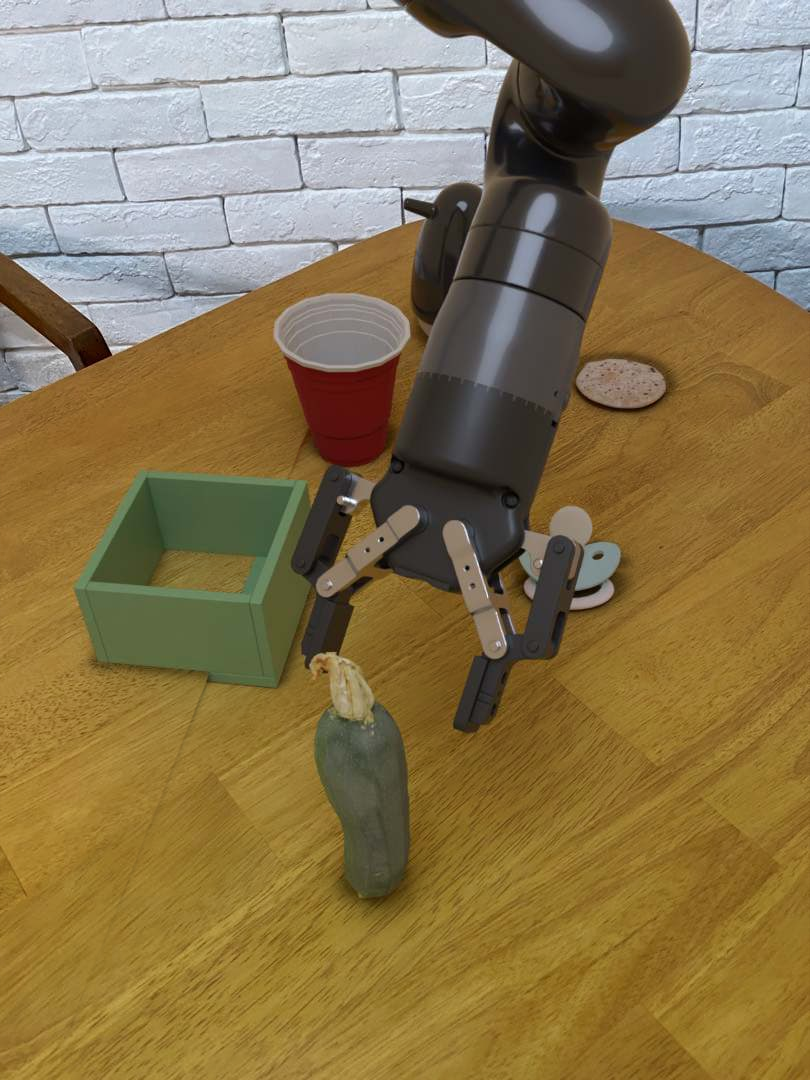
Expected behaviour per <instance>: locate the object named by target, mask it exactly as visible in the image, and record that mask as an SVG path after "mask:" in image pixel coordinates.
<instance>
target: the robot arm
mask: <svg viewBox="0 0 810 1080" xmlns="http://www.w3.org/2000/svg"><path fill="white" fill-rule="evenodd" d="M391 1H392V2H393V3H395V4H396V6H398V7H399V8H400V9H404V12H405V13H406V14H407V15H408V16H409V17H411V18H412V19H413V20H414V21H415V22H417V23H418V24H419V25H420V26H423V28H425V29H427V30H428V31H429V32H431V33H433V34H434V35H436V36H438V37H440V38H443V39H448V40H449V39H450V40H455V39H461V38H466V37H478V38H481V39H484V40H485V41H487V42H489V43H490V44H491V45H493V46H495V47H496V48H497V49H499V50H500V51H502V52H504V53H505V54H507V55H508V56H510V57H511V58H512V59H511V60H510V63H509V65H508V68H507V70H506V73H505V74H504V78H503V81H502V83H501V85H500V88H499V92H498V95H497V99H496V102H495V105H494V110H493V115H492V119H491V125H490V131H489V136H488V143H487V149H486V155H485V161H484V167H483V176H482V177H483V178H482V189H483V190H482V196H481V201H480V204H479V206H478V209H477V211H476V213H475V216H474V218H473V221H472V223H471V226H470V229H469V232H468V235H467V238H466V241H465V244H464V247H463V250H462V253H461V256H460V259H459V262H458V266H457V269H456V272H455V275H454V278H453V283H452V284H451V286H450V289H449V292H448V294H447V296H446V299H445V301H444V303H443V305H442V307H441V309H440V311H439V313H438V315H437V317H436V319H435V322H434V324H433V327H432V329H431V332H430V335H429V336H428V338H427V342H426V345H425V348H424V351H423V354H422V357H421V360H420V363H419V366H418V369H417V372H416V375H415V378H414V382H413V384H412V388H411V391H410V394H409V396H408V400H407V403H406V406H405V409H404V412H403V415H402V418H401V421H400V424H399V428H398V431H397V433H396V436H395V440H394V443H393V446H392V449H391V455H390V456H391V457H390V460H389V466H388V468H387V470H386V472H385V474H384V475H383V476H381V478H380V479H379V480H378V481H377V482H374V481H372V480H370V479H367V478H364V476H363V475H362V474H361V473H358V472H356V471H354V470H352V469H348V468H347V467H344V466H339V465H333V464H331V465H329V466H327V468H326V469H325V471H324V473H323V476H322V479H321V481H320V485H319V487H318V490H317V492H316V493H315V494H316V495H315V496H314V499H313V502H312V504H311V510H310V512H309V515H308V517H307V520H306V523H305V525H304V528H303V530H302V533H301V536H300V538H299V541H298V543H297V546H296V549H295V551H294V554H293V556H292V559H291V568H292V570H293V571H294V572H295V573H297V574H300V575H302V576H303V577H304V578H305V579H306V580H307V581H309V582H310V583H311V584H312V585H311V586H312V587H313V588H314V592H315V600H314V603H313V605H312V609H311V612H310V615H309V618H308V621H307V626H306V627H305V631H304V634H303V637H302V640H301V642H300V651H301V652H300V654H301V656H303V657H305V659H304V664H303V665H304V669H306V670H309V671H311V669H310V666H309V664H310V663H311V660H312V659H313V658H314V656H316V655H318V654H320V653H323V654H326V653H327V652H337V654H336V655H337V656H339V657H340V652H341V649H342V646H343V643H344V640H345V637H346V634H347V631H348V628H349V625H350V622H351V619H352V615H353V612H354V610H355V605H352V604H350V601H351V600H352V599H354V598H355V597H356V596H358V595H359V594H361V593H362V592H363V591H365V590H366V589H368V588H369V587H370V586H372V584H374V583H376V582H377V581H379V580H383V579H385V578H386V577H388V576H389V575H392V574H394V575H397V576H401V577H403V578H406V579H411V580H414V581H415V580H416V581H419V582H426V583H427V584H429V585H430V586H431V587H433V588H434V589H438V590H441V591H444V592H447V593H450V594H455V595H460V596H462V598H463V600H464V604H465V607H466V609H467V612H468V613H469V614H470V615H471V617H472V619H473V622H474V625H475V628H476V632H477V635H478V639H479V641H480V644H481V645H480V646H481V648H482V652H481V655H477V654H476V655H475V654H474V657H473V659H472V663H471V666H470V669H469V672H468V674H467V678H466V681H465V684H464V688H463V691H462V693H461V696H460V699H459V703H458V705H457V709H456V711H455V715H454V718H453V721H452V729H454V730H457V731H459V732H461V733H464V734H466V735H467V734H474V733H477V732H478V731H479V729H480V728H481V726H487V725H490V724H491V723H492V722H493V720H494V719H495V718H496V716H497V714H498V711H499V708H500V704H501V702H502V698H503V696H504V692H505V689H506V686H507V683H508V680H509V676H510V675H511V671H512V669H513V667H514V666H515V665H516V664H517V663H518V662H521V661H540V660H542V661H551V660H553V659H555V658H556V657H557V656H558V655H559V651H560V649H561V644H562V641H563V637H564V634H565V630H566V626H567V622H568V619H569V618H568V617H569V615H570V611H571V610H570V607H571V603H572V599H573V598H574V595H575V592H576V591H575V588H576V584H577V580H578V576H579V573H580V569H581V565H582V561H583V557H584V549H583V547H582V545H581V544H580V543H578V542H577V541H575V540H573V539H571V538H569V537H566V536H563V535H557V536H554V537H553V536H550V534H546V533H545V534H544V533H541V532H536V531H532V530H531V527H530V526H531V525H530V513H531V509H532V506H533V504H534V503H535V502H534V501H535V498H536V496H537V493H538V489H539V487H540V484H541V481H542V477H543V474H544V470H545V468H546V465H547V462H548V459H549V456H550V453H551V450H552V448H553V444H554V441H555V437H556V434H557V432H558V429H559V426H560V423H561V420H562V416H563V414H564V412H565V411H566V410H567V408H568V405H569V402H570V399H571V395H572V391H571V390H572V385H573V383H574V380H575V376H576V372H577V369H578V364H579V360H580V356H581V355H580V353H581V348H582V343H583V338H584V334H585V330H586V324H587V323H588V321H589V317H590V314H591V311H592V309H593V305H594V302H595V299H596V296H597V293H598V290H599V288H600V284H601V280H602V278H603V275H604V272H605V268H606V265H607V262H608V259H609V255H610V250H611V247H612V239H613V229H614V227H613V226H614V225H613V222H612V216H611V215H610V212H609V211H608V208H607V207H606V205H604V203H602V202H601V200H600V199H601V195H602V190H603V186H604V180H605V176H606V172H607V168H608V167H609V163H610V161H611V158H612V155H613V153H614V151H615V149H616V147H617V146H619V145H621V144H623V143H625V142H626V141H628V140H631V139H633V138H634V137H637V136H639V135H640V134H643V133H644V132H647V131H648V130H650V129H651V128H653V127H655V126H656V125H658V124H660V123H661V122H662V121H664V119H665V118H666V117H668V116H669V115H670V114H671V113H672V112H673V111H674V110H675V109H676V108H677V106H678V104H679V103H680V102H681V100H682V98H683V96H684V95H685V92H686V90H687V88H688V85H689V81H690V78H691V72H692V51H691V45H690V40H689V36H688V33H687V30H686V28H685V26H684V23H683V21H682V18H681V16H680V15H679V13H678V12H677V10H676V8H675V7H674V5H673V4H672V2H671V1H670V0H391ZM368 504H369V506H370V509H371V512H372V516H373V521H374V523H375V527H376V529H375V530H373V531H372V532H370V533H369V534H368V535H367V536H365V537H364V538H363V539H361V540H360V541H359V542H358V543H356V544H355V545H354V546H352V547H351V548H350V549H349V550H347V552H346V553H345V556H344V558H342V559H341V560H340V561H338V562H337V563H336V561H337V558H338V556H339V553H340V551H341V548H342V545H343V543H344V540H345V537H346V535H347V533H348V530H349V528H350V524H351V522H352V519H353V517H354V516H355V517H356V516H358V515H360V514H361V513H362V512H363V511H364V510H365V509H364V508H365V507H366V506H367V505H368ZM526 551H527V552H528V553H529V555H530V558H531V563H530V568H531V571H532V573H533V574H534V575H535V576H537V577H539V578H538V582H537V586H536V590H535V593H534V597H533V600H532V601H531V605H530V608H529V612H528V616H527V620H526V624H525V627H524V632H523V633H519V632H518V631H517V627H516V624H515V621H514V616H513V613H512V602H511V600H510V596H509V593H508V590H507V587H506V583H505V581H504V577H503V573H502V571H503V570H504V569H506V568H507V567H508V566H510V565H511V564H512V563H514V562H515V561H516V560H517V559H519V557H520V556H521V555H523V554H524V553H525V552H526ZM335 563H336V564H335ZM321 669H323V668H321ZM321 674H329V673H328V671H326V670H324V669H323V670H322V673H321Z"/></svg>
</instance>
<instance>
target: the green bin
mask: <svg viewBox="0 0 810 1080" xmlns="http://www.w3.org/2000/svg"><path fill="white" fill-rule="evenodd" d="M311 507H312V504H311V497H310V491H309V484H308V480H303V479H288V478H275V477H257V476H243V475H240V476H239V475H228V474H227V475H225V474H212V473H210V474H209V473H193V472H179V471H178V472H177V471H165V470H164V471H163V470H147V469H139V470H138V472H137V474H136V476H135V477H134V479H133V481H132V482H131V484H130V487H129V488H128V490H127V492H126V494H125V495H124V497H123V499H122V500H121V503H120V504H119V506H118V508H117V509H116V512H115V513H114V515H113V517H112V518H111V520H110V522H109V524H108V525H107V527H106V528H105V529H106V530H105V531H104V533H103V534H102V536H101V538H100V540H99V542H98V544H97V545H96V546H95V549H94V551H93V553H92V554H91V556H90V558H89V560H88V561H87V563H86V565H85V567H84V568H83V570H82V572H81V574H80V576H79V578H78V579H77V581H76V582H75V585H74V586H73V591H74V594H75V597H76V600H77V604H78V606H79V609H80V612H81V614H82V617H83V620H84V623H85V626H86V630H87V634H88V636H89V639H90V640H91V644H92V647H93V650H94V653H95V657H96V659H97V662H99V663H110V664H121V665H129V666H130V665H131V666H142V667H153V668H163V669H173V670H185V671H195V672H196V671H197V672H206V673H208V675H207V678H206V682H210V683H219V684H229V685H230V684H231V685H240V686H250V687H251V686H253V687H260V688H262V687H263V688H271V689H272V688H273V689H278V686H279V684H280V680H281V677H282V674H283V671H284V668H285V666H286V662H287V660H288V657H289V654H290V651H291V647H292V644H293V641H294V638H295V635H296V632H297V629H298V627H299V624H300V621H301V617H302V615H303V611H304V608H305V606H306V603H307V600H308V597H309V594H310V590H311V587H312V586H313V585H312V584H311V583H310V582H309V581H307V580H306V579H305V578H304V577H303V576H302V575H300V574H297V573H295V572H294V571H293V570H292V568H291V559H292V556H293V554H294V551H295V549H296V546H297V543H298V541H299V538H300V536H301V533H302V530H303V528H304V525H305V523H306V520H307V517H308V515H309V512H310V510H311ZM165 550H171V551H183V552H184V551H185V552H198V553H199V552H200V553H211V554H222V555H237V556H250V557H254V560H253V562H252V565H251V568H250V569H249V573H248V575H247V577H246V580H245V582H244V585H243V587H242V590H241V593H238V592H226V591H225V592H224V591H215V590H203V589H189V588H179V587H166V586H155V585H154V586H153V585H148V584H149V582H150V579H151V578H152V576H153V574H154V571H155V569H156V567H157V565H158V563H159V561H160V559H161V557H162V555H163V553H164V551H165Z"/></svg>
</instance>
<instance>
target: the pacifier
mask: <svg viewBox="0 0 810 1080" xmlns="http://www.w3.org/2000/svg"><path fill="white" fill-rule="evenodd" d="M592 522H593V521H592V519H591V517H590V515H589V514H588V512H586V510H584V509H583V508H581V507H579V506H576V505H566V506H563V507H561V508H559V509H558V510H557V511H556V512H554V514H553V515H552V517H551V519H550V522H549V530H548V531H549V536H553V537H554V536H557V535H563V536H566V537H569V538H571V539H573V540H575V541H577V542H578V543H580V544H581V545H582V547H583V549H584V557H583V561H582V565H581V569H580V573H579V576H578V580H577V584H576V588H575V592H576V591H582V590H587V589H591V588H593V587H596V586H599V587H600V589H599V590H598V591H597V592H595V593H593V594H590V595H586V596H581V597H573V599H572V603H571V607H570V611H573V610H574V611H575V610H576V611H577V610H584V609H585V610H586V609H590V608H596V607H597V606H601V605H603V604H604V603H607V602H608V601H609V600H610V599H611V598H612V596H613V595H614V593H615V587H614V584H613V582H612V581H611V580H610V578H611V576H613V574H614V573H615V572H616V570H617V569H618V567H619V564H620V562H621V556H622V554H621V549H620V547H619V546H618V545H617V544H615V543H613V542H611V541H598V542H593V543H589V544H587V543H588V542H589V540H590V539H591V537H592V533H593V523H592ZM596 555H603V556H602V557H601V558H599V559H594V557H595V556H596ZM518 561H519V563H520V565H521V567H522V568H523V570H524V571H525V573H526V574H527V575H528V576H529V577H528V578H527V579H526V580H525V581H524V585H523V589H524V593H525V594H526V596H528V598H529V599H531V600H532V601H533V597H534V593H535V590H536V586H537V582H538V578H539V577H537V576H535V575H534V574H533V573H532V571H531V568H530V563H531V558H530V555H529V553H528V552H527V551H526V552H525V553H524V554H523V555H521V556H520V557H519V558H518Z"/></svg>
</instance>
